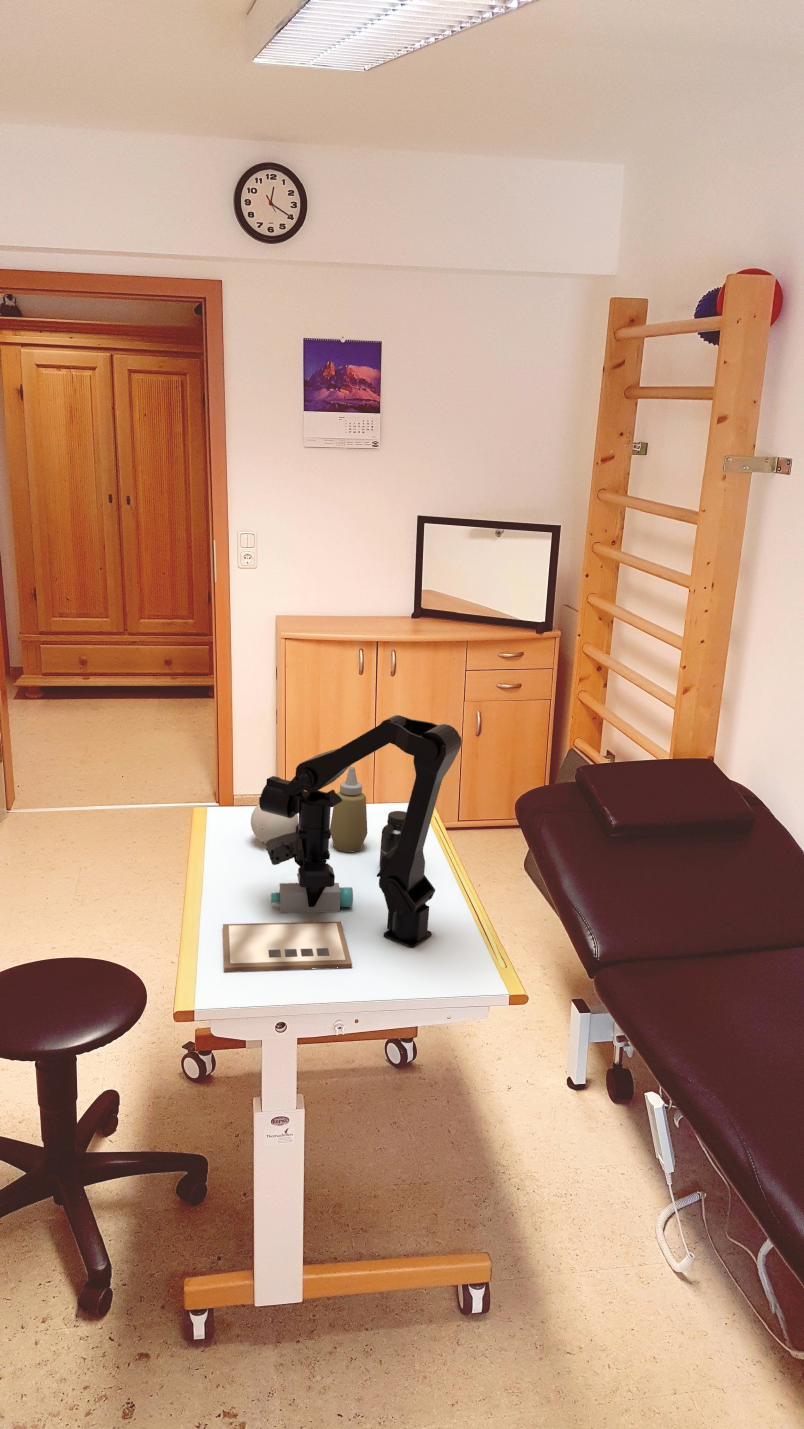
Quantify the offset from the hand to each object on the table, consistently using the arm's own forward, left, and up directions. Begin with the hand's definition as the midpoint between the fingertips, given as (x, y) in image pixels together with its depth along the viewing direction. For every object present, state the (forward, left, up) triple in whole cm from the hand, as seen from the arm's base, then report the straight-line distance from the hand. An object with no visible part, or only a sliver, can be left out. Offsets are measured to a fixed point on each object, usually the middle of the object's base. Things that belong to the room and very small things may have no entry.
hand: (310, 901), depth 189 cm
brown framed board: (-7, +14, -1) cm, 16 cm away
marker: (0, 0, -1) cm, 1 cm away
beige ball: (+25, -18, -2) cm, 31 cm away
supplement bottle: (-2, -25, -2) cm, 25 cm away
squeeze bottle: (+12, -27, -2) cm, 30 cm away
